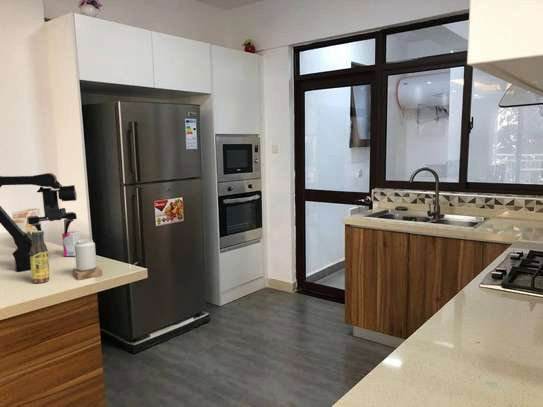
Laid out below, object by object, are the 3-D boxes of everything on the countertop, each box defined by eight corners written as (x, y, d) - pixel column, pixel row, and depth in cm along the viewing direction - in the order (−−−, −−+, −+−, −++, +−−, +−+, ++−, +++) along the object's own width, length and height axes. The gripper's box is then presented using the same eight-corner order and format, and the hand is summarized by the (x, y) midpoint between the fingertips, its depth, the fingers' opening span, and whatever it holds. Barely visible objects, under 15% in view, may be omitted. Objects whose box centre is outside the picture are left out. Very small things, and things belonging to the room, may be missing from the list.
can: (72, 271, 168) (70, 242, 166) (83, 266, 175) (81, 238, 173) (89, 272, 166) (87, 242, 165) (100, 267, 174) (98, 238, 172)
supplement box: (81, 254, 208) (79, 231, 206) (75, 257, 202) (73, 233, 201) (70, 254, 209) (68, 231, 207) (63, 257, 203) (61, 233, 201)
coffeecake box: (28, 248, 223) (24, 212, 221) (15, 248, 224) (11, 212, 221) (43, 242, 238) (40, 208, 236) (31, 242, 238) (27, 208, 236)
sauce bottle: (37, 285, 160) (32, 233, 158) (28, 282, 163) (23, 232, 161) (54, 280, 166) (49, 230, 163) (45, 278, 169) (40, 229, 166)
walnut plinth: (78, 280, 165) (78, 274, 164) (73, 275, 172) (72, 269, 172) (102, 275, 170) (101, 269, 170) (96, 270, 177) (95, 265, 177)
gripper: (28, 205, 171) (32, 243, 173) (78, 201, 182) (81, 236, 184) (25, 203, 180) (28, 239, 182) (72, 199, 191) (75, 233, 193)
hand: (54, 237), depth 185 cm, fingers open, 9 cm apart
